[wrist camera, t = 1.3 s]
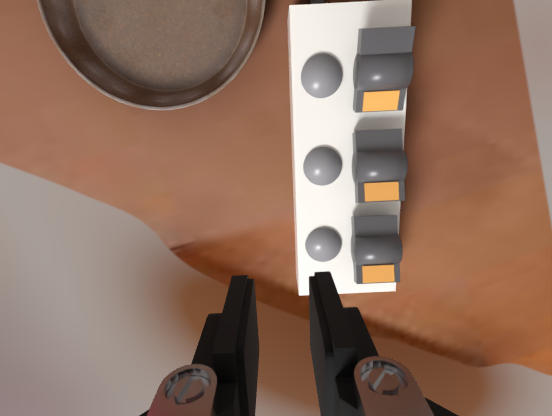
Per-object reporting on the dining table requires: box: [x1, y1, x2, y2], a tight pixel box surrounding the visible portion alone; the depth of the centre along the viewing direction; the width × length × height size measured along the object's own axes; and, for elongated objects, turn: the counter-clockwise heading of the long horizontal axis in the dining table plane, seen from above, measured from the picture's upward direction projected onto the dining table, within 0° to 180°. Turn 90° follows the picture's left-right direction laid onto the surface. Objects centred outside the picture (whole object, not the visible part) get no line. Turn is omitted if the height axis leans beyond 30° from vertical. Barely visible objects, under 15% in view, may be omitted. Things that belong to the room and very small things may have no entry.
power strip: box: [287, 0, 412, 295], centre depth 28 cm, size 32×9×4 cm, turn 3°
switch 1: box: [353, 26, 416, 113], centre depth 24 cm, size 6×4×3 cm, turn 3°
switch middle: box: [352, 128, 408, 203], centre depth 26 cm, size 6×4×3 cm, turn 3°
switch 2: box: [351, 215, 402, 284], centre depth 28 cm, size 6×4×3 cm, turn 3°
